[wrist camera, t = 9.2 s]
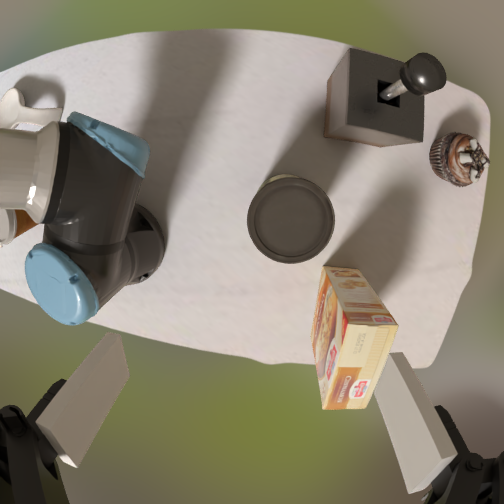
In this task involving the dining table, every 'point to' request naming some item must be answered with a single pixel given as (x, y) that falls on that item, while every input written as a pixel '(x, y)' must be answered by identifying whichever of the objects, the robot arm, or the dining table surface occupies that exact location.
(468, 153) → the cupcake
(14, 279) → the dining table surface
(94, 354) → the robot arm
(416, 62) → the plunger
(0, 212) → the disposable coffee cup
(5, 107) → the spoon rest
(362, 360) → the coffeecake box
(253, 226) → the coffee can
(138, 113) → the dining table surface
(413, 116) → the grey brown upright block
